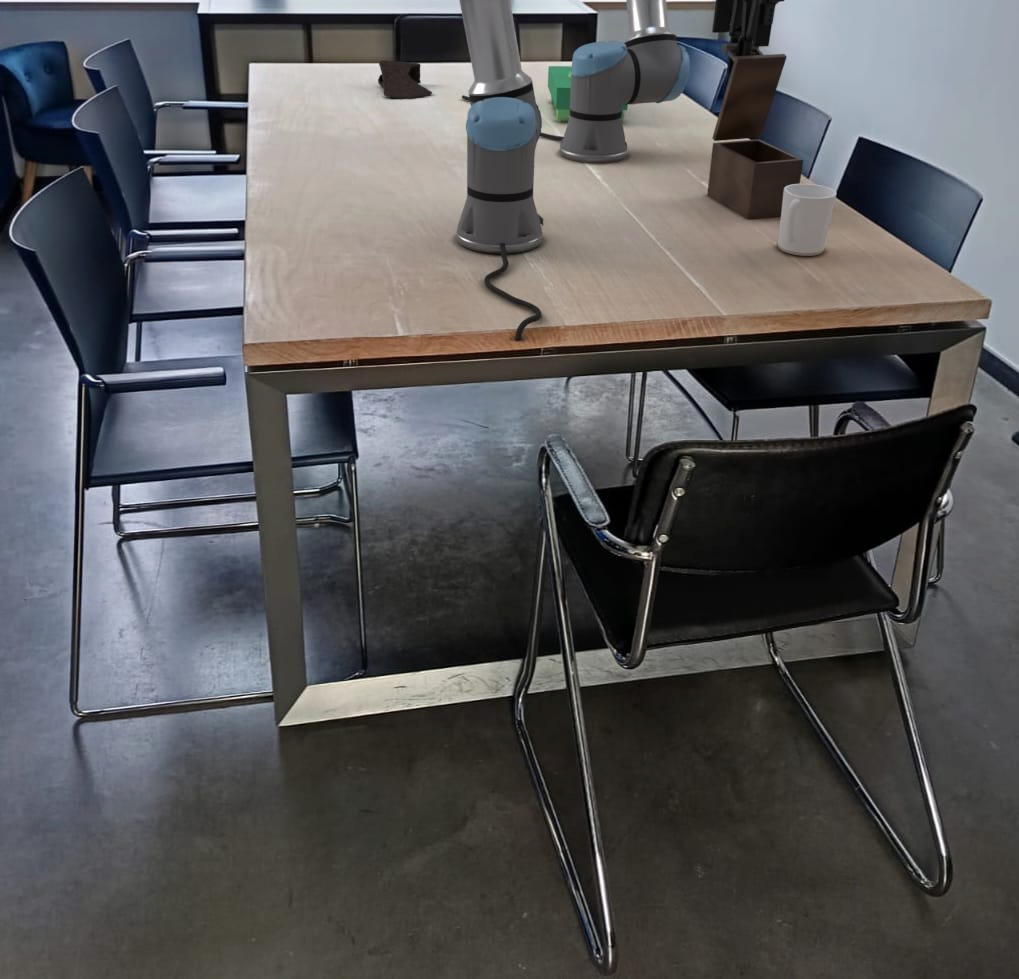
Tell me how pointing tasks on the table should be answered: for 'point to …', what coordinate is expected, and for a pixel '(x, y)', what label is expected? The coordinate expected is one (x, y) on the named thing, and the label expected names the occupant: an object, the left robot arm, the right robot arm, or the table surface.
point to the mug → (805, 218)
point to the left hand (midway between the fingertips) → (739, 39)
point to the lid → (748, 93)
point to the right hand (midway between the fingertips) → (737, 73)
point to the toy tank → (562, 91)
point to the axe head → (401, 79)
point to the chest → (752, 177)
